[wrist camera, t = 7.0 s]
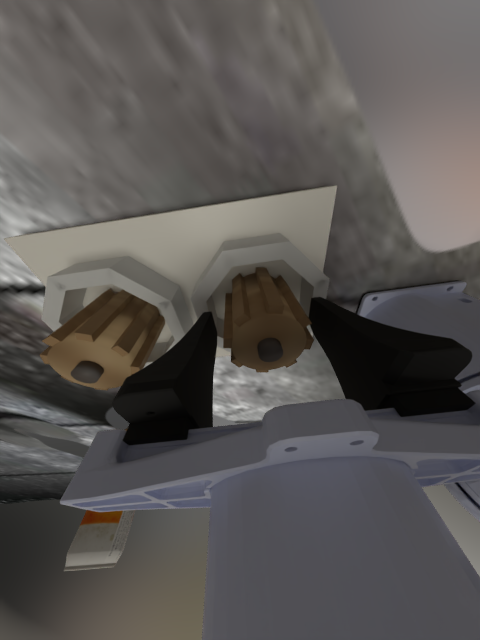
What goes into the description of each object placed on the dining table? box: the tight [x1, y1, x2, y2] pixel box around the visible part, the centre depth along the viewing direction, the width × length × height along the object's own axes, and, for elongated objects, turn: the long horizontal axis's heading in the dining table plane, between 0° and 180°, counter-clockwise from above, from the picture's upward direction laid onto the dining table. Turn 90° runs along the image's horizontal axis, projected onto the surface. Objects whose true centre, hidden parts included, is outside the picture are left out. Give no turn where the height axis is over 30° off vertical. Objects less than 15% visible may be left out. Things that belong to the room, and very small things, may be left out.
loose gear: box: [223, 267, 314, 372], centre depth 12 cm, size 5×5×7 cm
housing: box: [4, 186, 337, 368], centre depth 15 cm, size 22×14×4 cm, turn 97°
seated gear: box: [40, 289, 165, 390], centre depth 13 cm, size 5×5×7 cm
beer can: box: [64, 426, 135, 571], centre depth 27 cm, size 6×6×15 cm
